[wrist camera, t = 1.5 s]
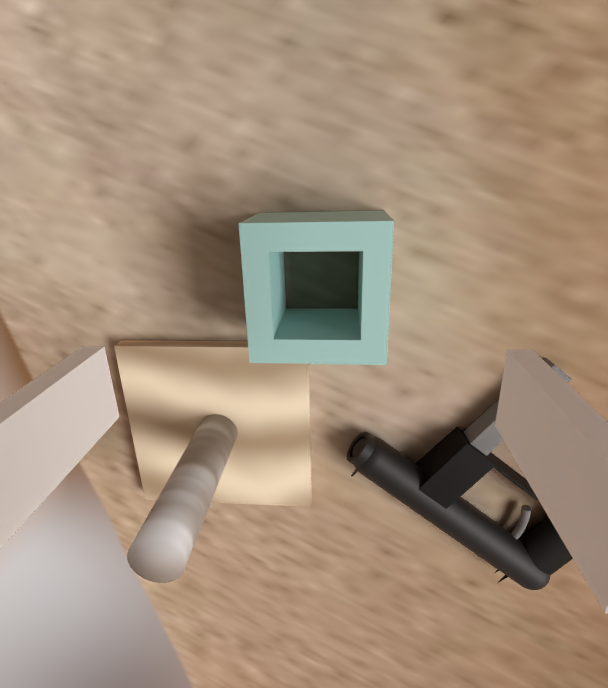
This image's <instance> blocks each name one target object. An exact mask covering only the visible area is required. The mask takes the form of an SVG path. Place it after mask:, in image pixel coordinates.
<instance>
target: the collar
mask: <svg viewBox="0 0 608 688" xmlns="http://www.w3.org/2000/svg"><path fill="white" fill-rule="evenodd" d="M393 232H394V220H393V219H392V218H391V217H390V216H389V215H388V214H387V213H386V212H385V211H384V210H373V211H316V212H259V213H257V214H255V215H254V216H252V217H250V218H248V219H246V220H244V221H242V222H240V223H239V235H240V248H241V261H242V273H243V286H244V299H245V312H246V325H247V337H248V350H249V363H291V364H365V365H387V348H388V329H389V310H390V290H391V271H392V252H393ZM317 251H359V281H358V309H333V308H286V292H285V268H284V252H317Z"/></svg>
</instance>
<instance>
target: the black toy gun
mask: <svg viewBox="0 0 608 688" xmlns="http://www.w3.org/2000/svg"><path fill="white" fill-rule="evenodd" d="M544 361H545V362H546V363H547V364H548V365H549V366H550V367H551V368H552V369H553V370H554V371H555V372H556V373H557V374H558V375H559V376H560V377H561V378H563V379H564V380H565V381H566V382H567V383H568V382H569V381H570V380H571V378H570V377H569V376H568V375H567V374H566V373H564V372H563V371H562V370H561V369H560V368H558V367H557V366H556V365H555V364H553V363H552V362H551V361H549V360H548V359H547V358H545V359H544ZM498 403H499V400H497V401H496V402H495V403H494V404H493V405H492V406H491V407H489V408H488V409H487V410H486V411H485V412H484V413H483V414H482V415H481V416H480V417H479V418H478V419H476V420H475V421H474V422H473V423H472V424H471V425H470V426H469V427H468V428H467V429H466V430H465V431H463V430H461V429H460V428H459V427H456V428H455V429H454V430H453V431H452V432H450V433H449V434H448V435H447V436H446V437H445V438H444V439H443V440H441V441H440V442H439V443H438V444H437V445H436V446H435V447H434V448H433V449H431V450H430V451H429V452H428V453H427V454H426V455H425V456H424V457H422V458H421V459H420V460H419V461H418V462H417V463H416V464H415V463H413V462H412V461H411V460H409V459H408V458H406V457H405V456H404V455H402V454H401V453H400V452H398V451H397V450H395V449H394V448H393V447H391V446H390V445H388V444H387V443H386V442H384V441H383V440H381V439H380V438H377V437H372V436H371V435H369V434H368V433H367V432H364V433H361V434H360V435H359V436H357V437H356V439H355V440H354V441H353V442H352V444H351V446H350V447H349V450H348V452H347V460H348V461H349V462H351V463H352V464H354V466H355V468H356V469H355V470H356V471H355V472H354V473H353V474H352V475H351V476H353V475H354V474H355V473H356V472H357V471H359V472H360V473H361V474H363V475H364V476H365V477H367V478H368V479H370V480H371V481H373V482H374V483H375V484H377V485H378V486H380V487H381V488H383V489H384V490H385V491H387V492H388V493H390V494H391V495H392V496H394V497H395V498H397V499H398V500H400V501H401V502H402V503H404V504H405V505H407V506H408V507H410V508H411V509H412V510H414V511H415V512H417V513H418V514H420V515H421V516H422V517H424V518H425V519H427V520H428V521H430V522H431V523H432V524H434V525H435V526H437V527H438V528H440V529H441V530H442V531H444V532H445V533H447V534H448V535H450V536H451V537H452V538H454V539H455V540H457V541H458V542H460V543H461V544H462V545H464V546H465V547H467V548H468V549H470V550H471V551H472V552H474V553H475V554H477V555H478V556H480V557H481V558H482V559H484V560H485V561H487V562H488V563H490V564H491V565H492V566H494V567H495V568H497V569H498V570H497V571H499V570H500V571H501V572H502V573H504V574H505V576H504V577H503V578H502V579H501V580H500V581H502V580H503V579H505V578H507V577H510V578H511V579H512V580H514V581H515V582H517V583H518V584H520V585H521V586H523V587H524V588H527V589H530V590H539V589H542V588H543V587H545V586H546V585H547V584H548V582H549V580H550V575H551V574H553V573H554V572H555V571H557V570H558V569H559V568H561V567H562V566H563V565H565V564H566V563H567V562H569V561H570V560H571V559H573V558H572V556H571V554H570V553H569V551H568V549H567V547H566V546H565V544H564V542H563V541H562V539H561V537H560V536H559V534H558V532H557V530H556V529H555V527H554V525H553V524H552V522H551V520H550V519H549V517H548V518H547V519H546V520H545V521H543V522H542V523H541V524H540V525H538V526H537V527H536V528H535V529H534V530H532V531H531V532H530V533H529V534H527V535H526V536H525V537H524V538H522V539H521V540H519V539H518V538H519V537H520V536H521V535H522V533H523V532H524V530H525V528H526V526H527V524H528V521H529V518H530V514H531V508H530V507H529V506H526V505H524V506H522V510H521V515H520V518H519V521H518V523H517V526H516V527H515V529H514V530H513V532H512V533H510V532H508V531H507V530H506V529H504V528H503V527H502V526H500V525H499V524H497V523H496V522H495V521H493V520H492V519H490V518H489V517H488V516H486V515H485V514H484V513H482V512H481V511H479V510H478V509H477V508H475V507H474V506H473V505H471V504H470V503H468V502H467V501H466V500H464V499H463V498H462V497H460V496H462V495H463V494H464V493H465V492H466V491H467V490H468V489H469V488H471V487H472V486H473V485H474V484H475V483H476V482H477V481H478V480H480V479H481V478H482V477H483V476H484V475H485V474H486V473H487V472H489V471H490V470H491V469H492V468H493V467H494V468H495V469H496V470H498V471H499V472H500V473H502V474H503V475H504V476H506V477H507V478H508V479H510V480H511V481H512V482H514V483H515V484H516V485H518V486H519V487H520V488H522V489H523V490H524V491H526V492H527V493H528V494H530V495H531V496H532V497H534V498H535V499H536V500H537V501H539V500H538V498H537V496H536V495H535V493H534V491H533V490H532V488H531V486H530V484H529V483H528V481H527V480H526V479H525V478H524V477H522V476H521V475H520V474H519V473H517V472H516V471H515V470H513V469H512V468H511V467H509V466H508V465H507V464H505V463H504V462H503V461H501V460H500V459H499V458H497V457H496V456H495V455H494V454H492V453H491V452H492V451H493V450H494V449H495V448H496V447H497V446H498V445H499V444H500V443H502V442H503V441H504V440H503V439H502V437H501V435H500V433H499V432H498V430H497V428H496V427H495V422H496V415H497V409H498ZM539 502H540V501H539ZM497 571H496V572H497ZM496 572H495V573H496ZM500 581H499V582H500Z"/></svg>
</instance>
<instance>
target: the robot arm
mask: <svg viewBox="0 0 608 688" xmlns="http://www.w3.org/2000/svg"><path fill="white" fill-rule="evenodd" d="M118 418H119V413H118V408H117V403H116V398H115V394H114V389H113V384H112V380H111V375H110V370H109V366H108V361H107V356H106V352H105V347H104V346H83V347H81V348H80V349H78V350H77V351H75V352H74V353H72V354H71V355H69V356H68V357H66V358H65V359H63V360H62V361H60V362H59V363H58V364H56V365H55V366H53V367H52V368H50V369H49V370H47V371H46V372H44V373H43V374H41V375H40V376H38V377H37V378H35V379H34V380H33V381H31V382H30V383H28V384H27V385H25V386H24V387H22V388H21V389H19V390H18V391H16V392H15V393H13V394H12V395H11V396H9V397H8V398H6V399H5V400H3V401H2V402H0V549H1V547H2V546H3V545H4V544H5V543H6V542H7V541H8V540H9V539H10V537H11V536H12V535H13V534H14V533H15V532H16V531H17V530H18V529H19V527H20V526H21V525H22V524H23V523H24V522H25V521H26V520H27V519H28V518H29V516H30V515H31V514H32V513H33V512H34V511H35V510H36V509H37V508H38V507H39V505H40V504H41V503H42V502H43V501H44V500H45V499H46V498H47V497H48V495H49V494H50V493H51V492H52V491H53V490H54V489H55V488H56V487H57V485H58V484H59V483H60V482H61V481H62V480H63V479H64V478H65V477H66V475H67V474H68V473H69V472H70V471H71V470H72V469H73V468H74V467H75V466H76V464H77V463H78V462H79V461H80V460H81V459H82V458H83V457H84V456H85V455H86V453H87V452H88V451H89V450H90V449H91V448H92V447H93V446H94V445H95V443H96V442H97V441H98V440H99V439H100V438H101V437H102V436H103V435H104V433H105V432H106V431H107V430H108V429H109V428H110V427H111V426H112V425H113V424H114V422H115V421H116V420H117V419H118ZM495 427H496V428H497V430H498V432H499V433H500V435H501V437H502V439H503V440H504V442H505V444H506V445H507V447H508V449H509V450H510V452H511V454H512V456H513V457H514V459H515V461H516V462H517V464H518V466H519V467H520V469H521V471H522V473H523V474H524V476H525V478H526V479H527V481H528V483H529V484H530V486H531V488H532V490H533V491H534V493H535V495H536V496H537V498H538V500H539V501H540V503H541V505H542V507H543V508H544V510H545V512H546V513H547V515H548V517H549V519H550V520H551V522H552V524H553V525H554V527H555V529H556V530H557V532H558V534H559V536H560V537H561V539H562V541H563V542H564V544H565V546H566V547H567V549H568V551H569V553H570V554H571V556H572V558H573V559H574V561H575V563H576V564H577V566H578V568H579V570H580V571H581V573H582V575H583V576H584V578H585V580H586V581H587V583H588V585H589V587H590V588H591V590H592V592H593V593H594V595H595V597H596V598H597V600H598V602H599V604H600V605H601V607H602V609H603V610H604V612H605V613H608V422H607V421H606V420H605V419H604V418H603V417H602V416H601V415H600V414H599V413H598V412H597V411H596V410H595V409H594V408H593V407H592V406H591V405H590V404H589V403H588V402H587V401H585V400H584V399H583V398H582V397H581V396H580V395H579V394H578V393H577V392H576V391H575V390H574V389H573V388H572V387H571V386H570V385H569V384H568V383H567V382H566V381H565V380H564V379H563V378H561V377H560V376H559V375H558V374H557V373H556V372H555V371H554V370H553V369H552V368H551V367H550V366H549V365H548V364H547V363H546V362H545V361H544V360H543V359H542V358H541V357H540V356H539V355H538V354H536V353H535V352H534V351H533V350H507V353H506V359H505V366H504V372H503V378H502V384H501V391H500V397H499V403H498V409H497V415H496V422H495Z"/></svg>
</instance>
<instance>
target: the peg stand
mask: <svg viewBox="0 0 608 688" xmlns="http://www.w3.org/2000/svg"><path fill="white" fill-rule="evenodd" d="M114 348H115V353H116V358H117V363H118V368H119V373H120V378H121V383H122V388H123V393H124V398H125V403H126V407H127V412H128V417H129V422H130V427H131V432H132V437H133V442H134V447H135V452H136V457H137V462H138V467H139V472H140V477H141V482H142V486H143V491H144V496H145V500H157V501H156V502H155V504H154V506H153V508H152V509H151V511H150V513H149V515H148V517H147V518H146V520H145V522H144V524H143V525H142V527H141V529H140V531H139V532H138V534H137V536H136V538H135V540H134V541H133V543H132V545H131V547H130V548H129V550H128V554H127V559H128V563H129V565H130V567H131V568H132V569H133V570H134V572H136V573H137V574H138V575H139V576H141V577H142V578H144V579H147V580H149V581H152V582H158V583H167V582H171V581H174V580H176V579H177V578H179V577H180V576H181V575H182V573H183V571H184V568H185V566H186V563H187V561H188V558H189V556H190V553H191V551H192V548H193V546H194V543H195V541H196V538H197V536H198V533H199V531H200V528H201V526H202V523H203V521H204V518H205V516H206V513H207V511H208V508H209V506H210V503H211V502H214V503H237V504H261V505H284V506H308V507H311V497H312V492H311V446H310V401H309V364H291V363H249V350H248V341H176V340H121V341H120V342H119V343H117V344H116V345H115V346H114Z"/></svg>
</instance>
